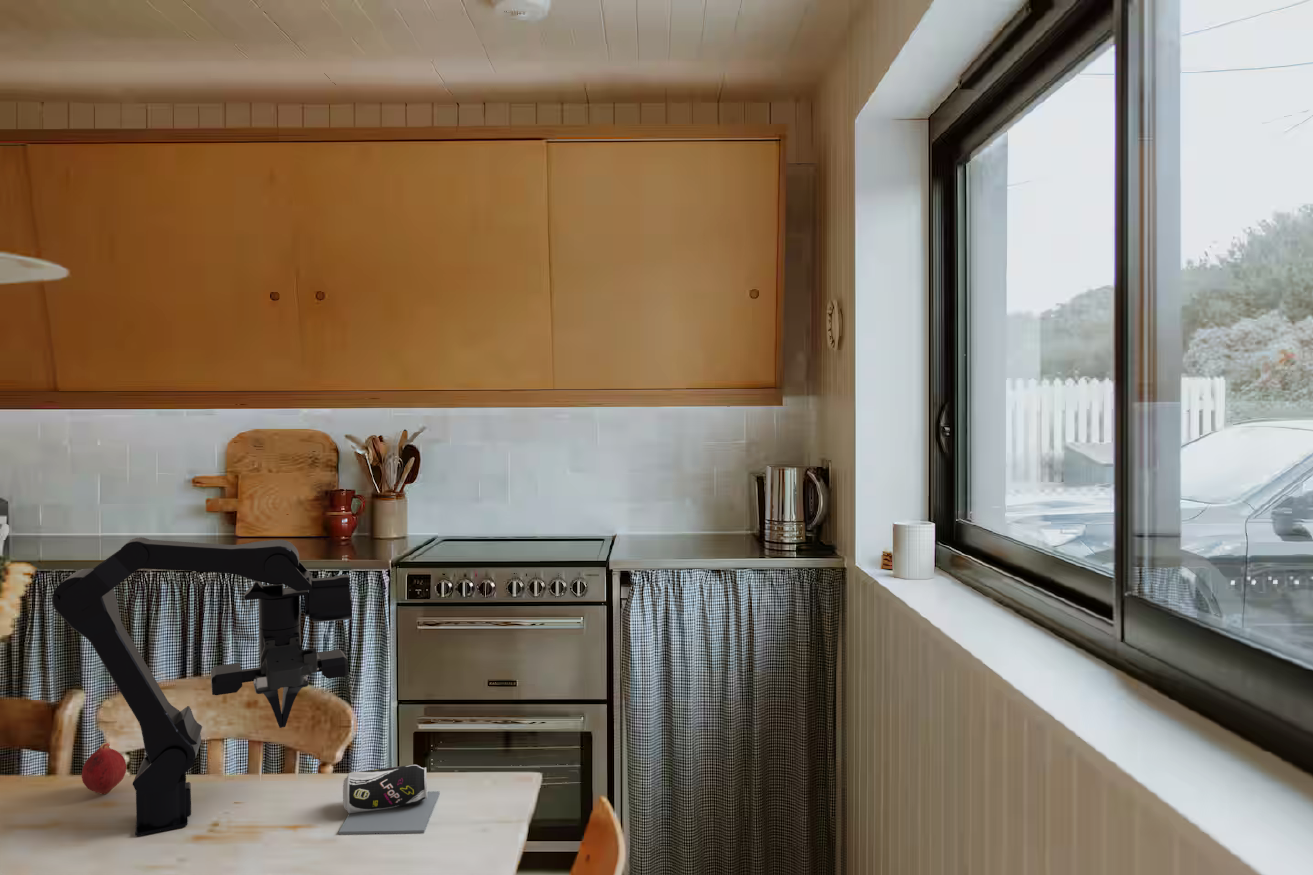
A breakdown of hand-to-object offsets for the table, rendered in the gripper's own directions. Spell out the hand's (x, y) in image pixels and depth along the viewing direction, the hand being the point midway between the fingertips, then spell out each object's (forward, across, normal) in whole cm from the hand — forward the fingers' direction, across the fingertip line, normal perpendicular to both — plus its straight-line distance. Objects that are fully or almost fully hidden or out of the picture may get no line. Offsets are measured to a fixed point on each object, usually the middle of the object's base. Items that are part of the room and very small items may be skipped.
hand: (282, 726), depth 131 cm
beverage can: (+9, +8, -7) cm, 14 cm away
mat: (+12, +14, -10) cm, 21 cm away
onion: (+12, -24, +16) cm, 31 cm away
